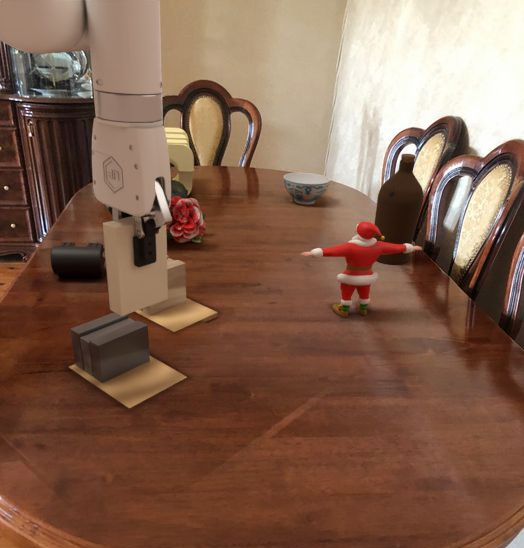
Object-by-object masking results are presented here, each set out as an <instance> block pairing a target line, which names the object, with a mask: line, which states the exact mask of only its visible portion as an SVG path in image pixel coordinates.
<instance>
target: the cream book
mask: <svg viewBox="0 0 524 548" xmlns="http://www.w3.org/2000/svg"><path fill="white" fill-rule="evenodd" d="M148 219H149V217H144V223H145V222H146V221H147V220H148ZM102 232H103V242H104V243H103V246H104V249H105V250H104V254H105V256H104V257H105V259H106V260H105V269H106V279H107V289H108V303H109V310H110V311H111V312H112V313H114V312H115V313H117V314H119V315H120V316H124V315H126V314H128V315H129V314H131V313H134V312H135V311H137V310H140V309H142V308H145V307H148V306H150V305H153V304H156V303H159V302H161V301H164V300H167V299H168V280H167V255H168V240H167V235H166V225H164V226H162V227H161V228H160V229H159V233H158V234H156V258H157V260H156V262H155V263H152V264H149V265H146V266H142V267H137V266H135V264H134V247H133V237H135V236H137V235H136V230H135V219H134V216H132V217H127V218H123V219H118V220H114V221H113V220H110V221H105V222H102Z"/></svg>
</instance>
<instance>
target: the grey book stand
mask: <svg viewBox="0 0 524 548" xmlns="http://www.w3.org/2000/svg"><path fill="white" fill-rule="evenodd" d="M69 331H70V337H71V344H72V349H73V357H74V363H73V364H72V365H69V366H68V368H69V369H70V370H72V371H73V372H75V373H76V374H77V375H80V376H81V377H82V378H84V379H85V380H87V382H90V383H91V384H92V385H93V386H96V387H97V388H98V389H100V390H101V391H103V392H104V393H106V394H107V395H109V396H110V397H111V398H113V399H114V400H116V401H117V402H119V403H120V404H122V405H124V407H126V408H128V409H131V408H133V407H135V406H137V405H138V404H141V403H143V402H144V401H146V400H148V399H150V398H152V397H153V396H156V395H157V394H159V393H161V392H163V391H164V390H166V389H168V388H170V387H172V386H173V385H176V384H177V383H179V382H181V381H183V380H184V379H186V378H188V377H187V376H186V375H185V374H183V373H181V372H180V371H177V370H176V369H174V368H172V367H171V366H169V365H167V364H165V363H163V362H162V361H160V360H158V359H157V358H155V357H153V356H152V355H151V354H150V339H149V325H148V324H147V323H144V322H143V321H141V320H134V319H133V318H131V317H129V314H126V315H124V316H120V315H119V314H117V313H115V312H110V313H108V314H106V315H103V316H100V317H98V318H94V319H92V320H90V321H87V322H85V323H82V324H79V325H77V326H74V327H71V328H69Z"/></svg>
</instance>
